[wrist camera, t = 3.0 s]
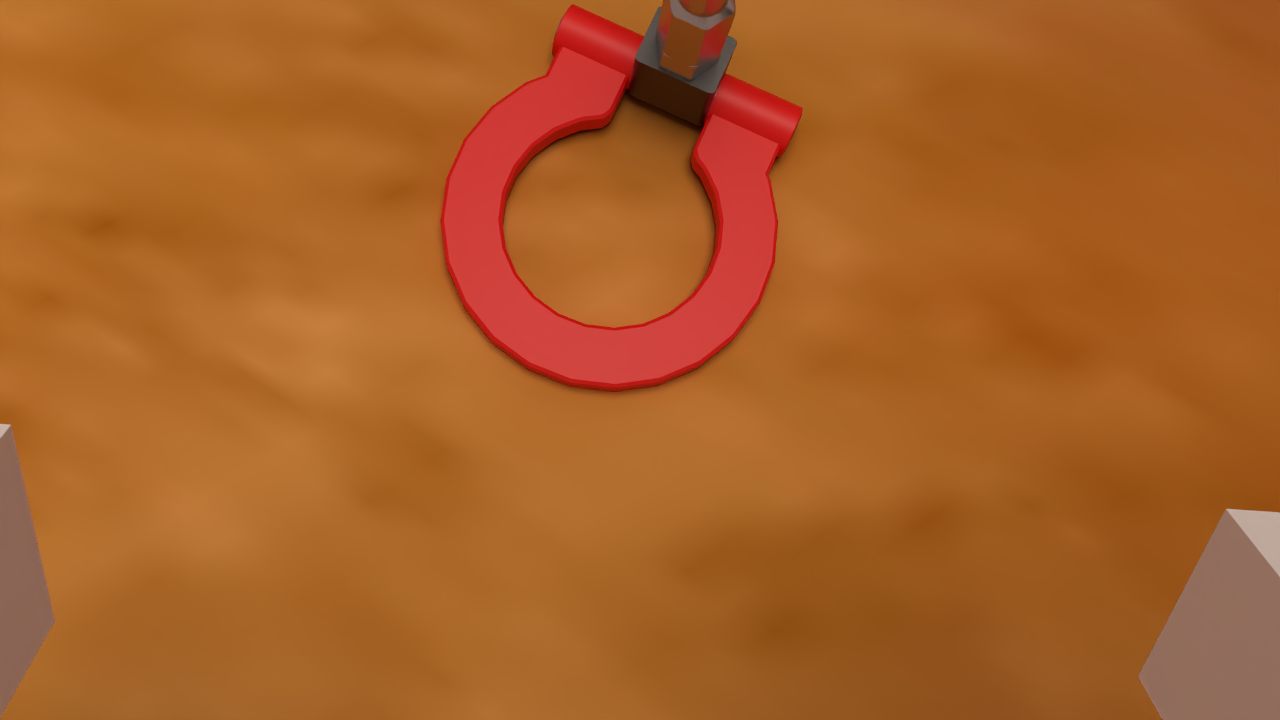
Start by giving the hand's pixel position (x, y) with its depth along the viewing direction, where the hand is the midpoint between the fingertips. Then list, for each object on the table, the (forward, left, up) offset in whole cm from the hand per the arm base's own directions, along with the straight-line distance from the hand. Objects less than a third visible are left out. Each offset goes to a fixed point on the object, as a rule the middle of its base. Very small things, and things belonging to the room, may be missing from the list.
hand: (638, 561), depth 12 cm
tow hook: (+5, -8, -14) cm, 17 cm away
